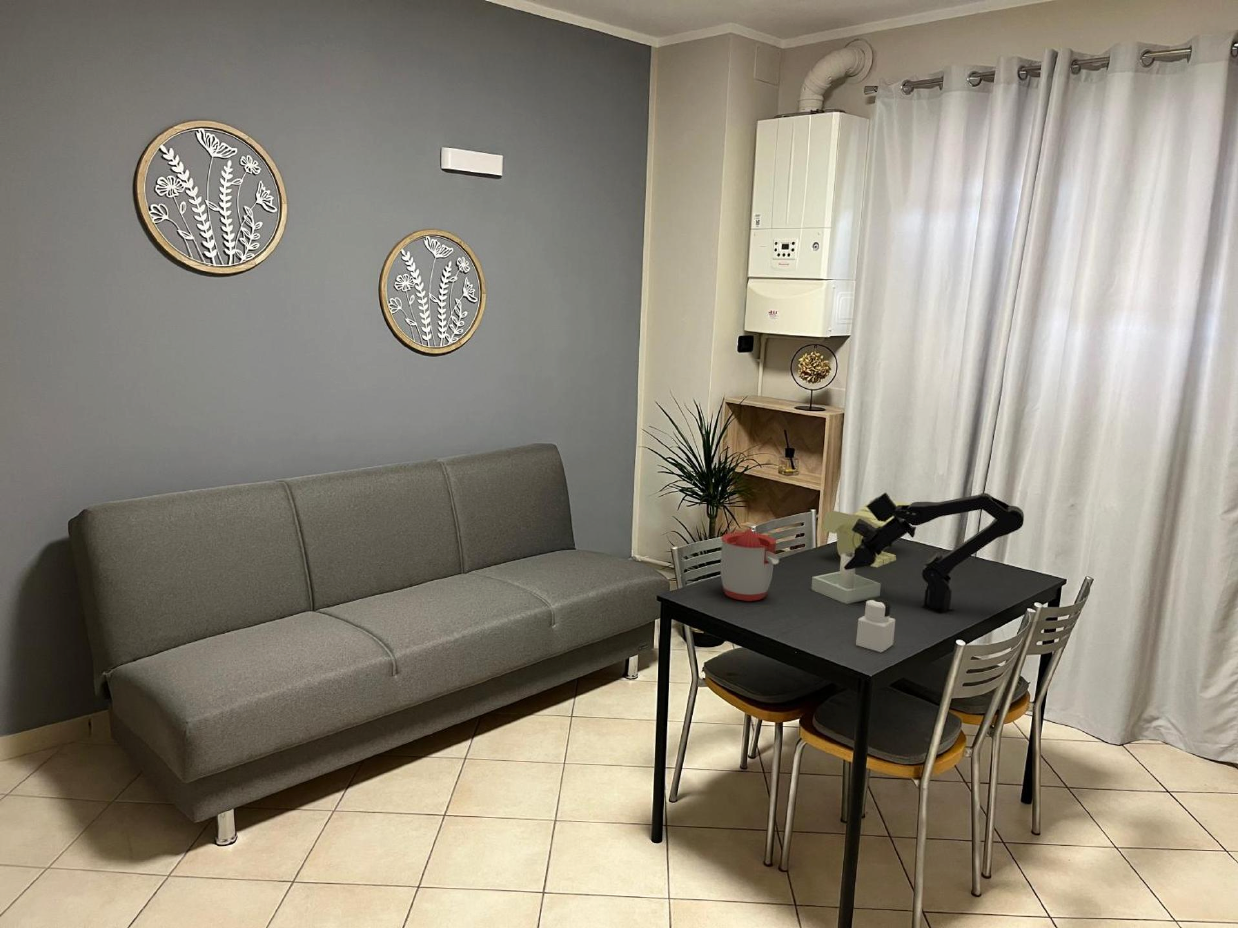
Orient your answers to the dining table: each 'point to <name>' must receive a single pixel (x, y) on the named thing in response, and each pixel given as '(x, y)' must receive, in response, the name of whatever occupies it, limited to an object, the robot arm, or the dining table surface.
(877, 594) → the walled box
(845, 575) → the grey-capped cream cylinder
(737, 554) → the citrus juicer
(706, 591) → the dining table surface
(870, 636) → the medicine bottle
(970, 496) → the robot arm
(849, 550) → the slatted curved stool
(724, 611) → the dining table surface
